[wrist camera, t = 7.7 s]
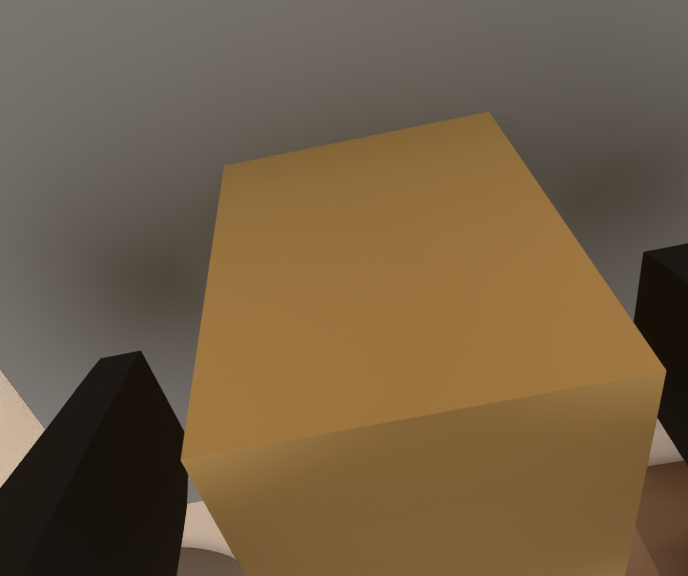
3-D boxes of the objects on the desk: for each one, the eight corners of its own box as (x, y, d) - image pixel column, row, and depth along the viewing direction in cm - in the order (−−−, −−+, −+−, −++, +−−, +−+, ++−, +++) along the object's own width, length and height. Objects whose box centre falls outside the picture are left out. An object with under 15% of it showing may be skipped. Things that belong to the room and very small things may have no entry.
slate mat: (1089, -440, 8) (1164, -461, 7) (790, 365, 16) (811, 388, 16) (-305, -107, 8) (-352, -99, 8) (117, 490, 17) (111, 517, 16)
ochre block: (488, 111, 10) (665, 371, 6) (496, 313, 13) (619, 601, 8) (224, 165, 11) (180, 460, 6) (286, 354, 13) (291, 657, 9)
